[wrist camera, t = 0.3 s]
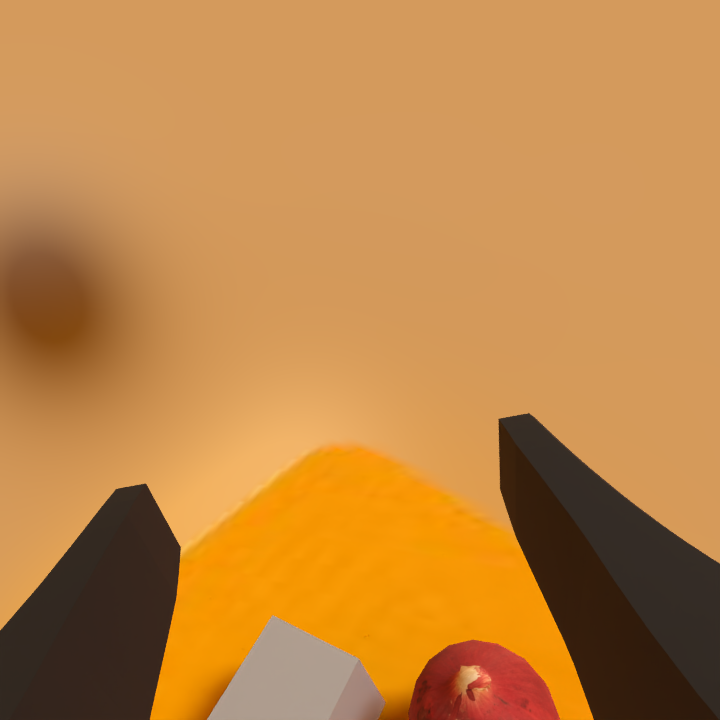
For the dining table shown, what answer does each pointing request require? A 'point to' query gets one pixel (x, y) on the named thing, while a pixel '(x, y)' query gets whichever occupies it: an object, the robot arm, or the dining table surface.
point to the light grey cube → (298, 681)
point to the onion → (480, 686)
